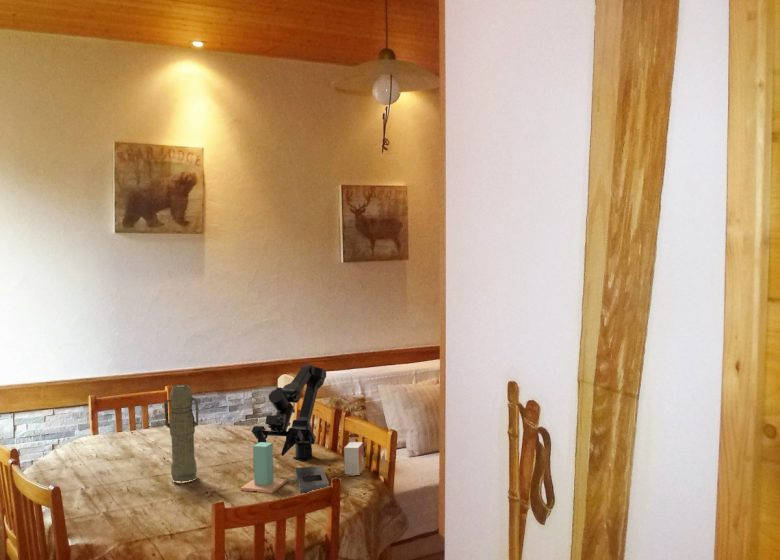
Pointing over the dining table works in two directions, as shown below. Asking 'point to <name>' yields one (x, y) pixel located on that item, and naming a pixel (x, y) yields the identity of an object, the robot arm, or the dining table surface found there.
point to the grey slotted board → (310, 478)
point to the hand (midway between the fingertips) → (270, 454)
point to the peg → (263, 464)
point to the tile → (265, 489)
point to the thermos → (182, 432)
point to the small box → (354, 458)
